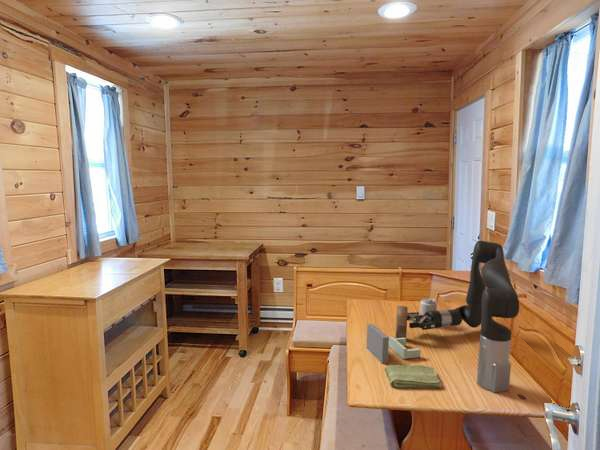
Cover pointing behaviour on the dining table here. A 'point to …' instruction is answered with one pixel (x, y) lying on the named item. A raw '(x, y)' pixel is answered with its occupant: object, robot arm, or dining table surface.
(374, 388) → the dining table surface
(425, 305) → the can
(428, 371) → the washcloth
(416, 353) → the bracket
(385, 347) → the wall
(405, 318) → the dowel
